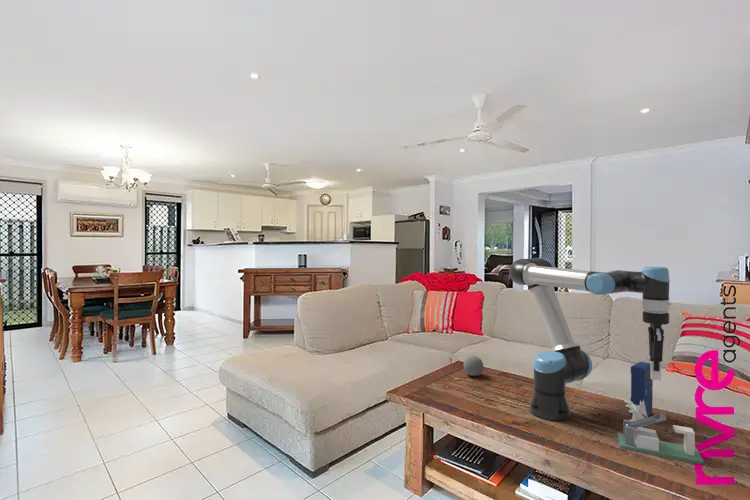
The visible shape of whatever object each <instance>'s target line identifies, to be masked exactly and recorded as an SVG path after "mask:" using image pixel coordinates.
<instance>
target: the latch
mask: <svg viewBox="0 0 750 500" xmlns="http://www.w3.org/2000/svg"><path fill="white" fill-rule="evenodd" d="M672 429H673V431H674V433H677V434H683V445H684V450H685V452H686V454H688V455H693V456H694V455H695V448H696V447H695V445H696V444H695V443H696V442H695V441H696V440H695V439H696V437H695V436H696V435H695V434H696V432H695V431H694V429H693V427H687V426H681V425H675V424H673V425H672Z"/></svg>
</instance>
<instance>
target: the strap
mask: <svg viewBox="0 0 750 500" xmlns="http://www.w3.org/2000/svg"><path fill="white" fill-rule="evenodd" d="M664 421H667V417H666V415H665V412H661V413H656V414H654V415H652V416H651V415H650V416H647V418H644V419H640V420H636V421H633V422H625V426H629V427H634V428H638V427H641V426H643V427H646V426H645V425H647V426H649V425H653V424H657V423H659V422H660V423H661V422H664Z"/></svg>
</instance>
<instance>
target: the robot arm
mask: <svg viewBox="0 0 750 500" xmlns="http://www.w3.org/2000/svg"><path fill="white" fill-rule="evenodd" d="M508 273H509V274H508V275H509V277H510V279H511V281H512V282H514V283H515V284H517V285H520V286H527V288H528V290H529V292H530V293H533V295H534V297H535V301H536V303H537V305H538V309H539V311H540V314H541V317H542V319H543V323H544V326H545V328H546V331H547V334H548V337H549V341H550V342H551V345H552V348H551V350H550V351H541V352H538V353H537V354H535V356H534V358H533V360H534V361H533V392H532V393H533V394H532V395H531V399H530V401H529V406H528V407H529V408H528V409H529V412H530V413H531V414H532V415H534V416H535V417H538V418H540V419H544V420H548V421H558V422H559V421H565V420H569V419H570V418H571V407H570V405H569V401H568V398H567V396H566V390H567V389H566V385H567V384H569V383H574V382H578V381H579V382H580V381H582V380H584V379H587V377H589V376H590V374H591V373H592V370H593V361H592V359H591V357H590V356H589V354H588V353H586V352H585V351H584V350H582V349H581V346H580V344H578V343H576V342H575V341H574V338H573V336H572V333H571V330H570V327H569V325H568V323H567V319H566V318H565V314H564V312H563V309H562V306H561V304H560V301H559V299H558V295H557V293H556V290H555V288H563V289H569V290H575V291H583V292H589V293H591V294H594V295H597V296H599V295H600V296H601V295H602V296H605V295H610V294H615V293H616V294H617V293H625V292H626V293H627V292H629V293H638V294H642V298H641V299H642V300H641V301H642V302H641V303H642V306H641V307H642V310H643V311H642V321H643V322H644V323H645V324H649V326H647V332H648V349H649V351H648V352H649V353H648V354H649V356H650V357H649V359H648V360H649V362H650V363H651V379H652V380H653V381H662V362H663V356H664V352H663V351H664V340H665V335H664V333H665V331H664V330H665V329H663V327H662V325H665V326H666V325H669V323H670V314H669V311H670V306H672V302H670V282H671V279H670V270H669V269H668V267H665V266H643V268H642V271H634V270H633V271H630V270H620V269H619V270H618V269H616V270H610V271H609V272H603V271H592V270H581V269H571V268H561V267H556V265H555V264H554V263H553V261H551V260H550V259H547V258H544V257H543V258H542V257H535V258H534V257H533V258H520V259H517V260H514V261H513V262H512V264H510V266H509V271H508Z"/></svg>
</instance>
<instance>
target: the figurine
mask: <svg viewBox="0 0 750 500" xmlns="http://www.w3.org/2000/svg"><path fill="white" fill-rule="evenodd" d="M623 402H624V403H625V405H624V406H625V408H626V407H627V408H629V410H628V412H629V414H630V413H633V416H631V417H632V418H631V419H628V420H629V421H632V422H633V421H636V420H640V419H644V418H645V417H644V416H643V415H642V414H644V415H645V416H646V418H647V417H648V416H647V413H646V408H645V404H644V400H643V402H641V400H640V406H639V405H637V406H636V404H633V402H632V401H631V400H630V399H628V398H626V399H624V400H623ZM626 403H627V404H626ZM641 413H642V414H641ZM645 427H648V425H645V426H641V427H640V428H645Z"/></svg>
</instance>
